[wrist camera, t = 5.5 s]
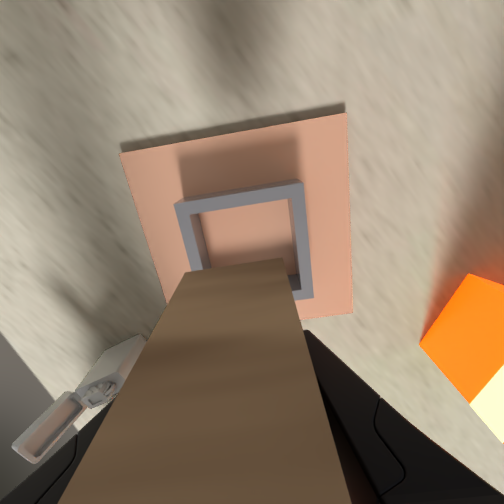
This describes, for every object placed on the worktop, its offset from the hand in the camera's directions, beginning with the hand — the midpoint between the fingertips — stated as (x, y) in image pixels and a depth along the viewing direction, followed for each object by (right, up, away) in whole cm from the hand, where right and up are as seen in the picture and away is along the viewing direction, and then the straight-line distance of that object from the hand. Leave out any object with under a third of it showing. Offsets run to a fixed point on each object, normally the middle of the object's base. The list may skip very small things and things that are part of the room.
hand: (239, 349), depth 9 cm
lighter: (-12, -6, +15) cm, 21 cm away
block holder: (0, +4, +11) cm, 12 cm away
